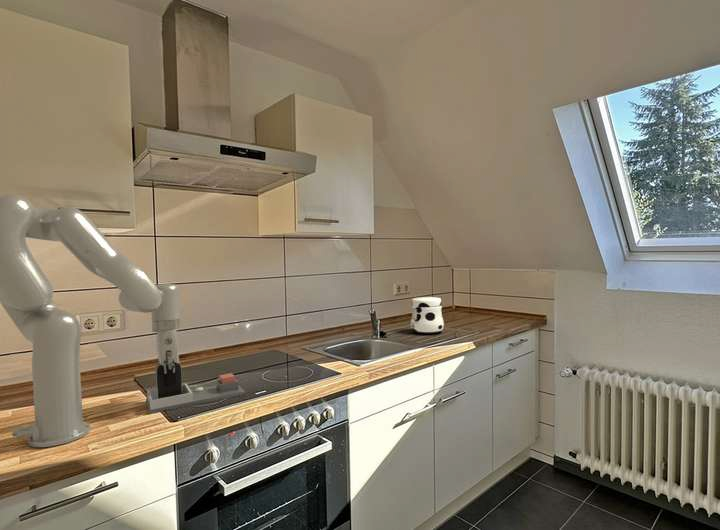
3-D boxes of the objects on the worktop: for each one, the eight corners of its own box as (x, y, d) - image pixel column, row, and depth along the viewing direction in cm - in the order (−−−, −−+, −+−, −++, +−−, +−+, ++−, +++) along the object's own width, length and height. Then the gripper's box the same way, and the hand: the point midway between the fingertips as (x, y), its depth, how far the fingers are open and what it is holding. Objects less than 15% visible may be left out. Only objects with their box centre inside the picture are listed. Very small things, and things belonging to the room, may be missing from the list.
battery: (180, 395, 128) (179, 358, 127) (183, 398, 125) (181, 361, 124) (155, 400, 124) (154, 362, 124) (157, 403, 121) (156, 365, 120)
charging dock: (149, 414, 116) (148, 401, 115) (146, 401, 126) (145, 390, 126) (245, 394, 130) (244, 383, 129) (235, 384, 140) (234, 374, 140)
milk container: (448, 330, 222) (447, 297, 221) (436, 336, 207) (435, 301, 206) (418, 328, 231) (418, 296, 230) (405, 334, 216) (404, 300, 216)
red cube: (222, 391, 130) (222, 378, 130) (219, 387, 133) (219, 375, 133) (235, 388, 132) (234, 376, 132) (232, 385, 135) (231, 373, 135)
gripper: (183, 328, 118) (185, 387, 118) (175, 320, 132) (177, 373, 133) (154, 331, 114) (156, 392, 114) (149, 323, 128) (151, 377, 129)
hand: (167, 382), depth 123 cm, fingers open, 9 cm apart
